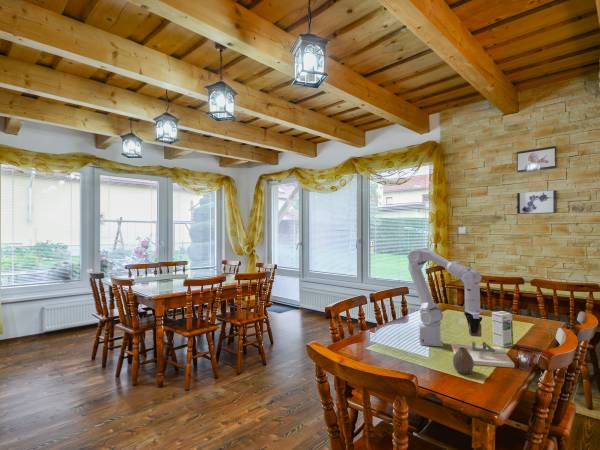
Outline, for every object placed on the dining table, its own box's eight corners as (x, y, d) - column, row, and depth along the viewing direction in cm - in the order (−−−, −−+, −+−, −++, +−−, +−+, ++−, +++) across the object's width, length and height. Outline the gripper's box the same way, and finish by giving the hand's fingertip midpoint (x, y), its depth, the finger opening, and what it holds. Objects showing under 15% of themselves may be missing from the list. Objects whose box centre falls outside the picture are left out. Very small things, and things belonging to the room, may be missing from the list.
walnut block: (470, 336, 141) (470, 324, 141) (469, 333, 145) (468, 321, 145) (481, 336, 140) (481, 324, 140) (479, 333, 144) (479, 322, 144)
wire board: (458, 363, 134) (458, 359, 134) (451, 347, 151) (451, 343, 151) (514, 367, 129) (514, 363, 129) (500, 350, 146) (500, 346, 146)
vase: (467, 367, 130) (466, 344, 130) (477, 375, 123) (477, 351, 123) (449, 368, 130) (449, 345, 130) (458, 376, 123) (458, 352, 123)
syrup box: (503, 347, 149) (502, 314, 149) (492, 343, 155) (491, 311, 155) (513, 346, 151) (512, 313, 151) (502, 341, 157) (501, 310, 157)
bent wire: (473, 357, 136) (472, 348, 136) (468, 349, 145) (468, 341, 145) (495, 359, 134) (495, 350, 134) (489, 350, 142) (489, 342, 142)
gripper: (487, 303, 135) (488, 337, 135) (479, 295, 149) (479, 326, 149) (467, 302, 137) (468, 336, 137) (461, 295, 151) (462, 326, 151)
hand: (473, 331), depth 143 cm, fingers closed on walnut block, 4 cm apart
